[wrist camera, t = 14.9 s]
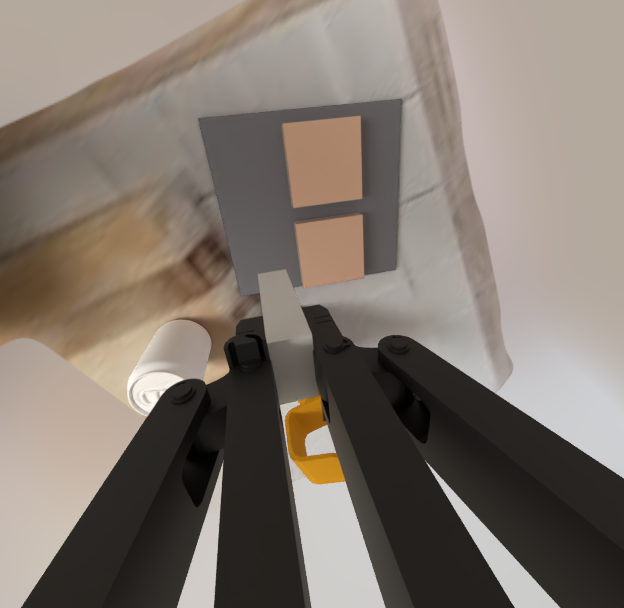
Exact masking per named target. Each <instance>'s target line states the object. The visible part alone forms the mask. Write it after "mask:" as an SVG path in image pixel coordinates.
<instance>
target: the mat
mask: <svg viewBox="0 0 624 608" xmlns="http://www.w3.org/2000/svg"><path fill="white" fill-rule="evenodd" d="M352 116H361V158H362V199H356V200H349V201H342V202H335V203H327V204H320V205H313V206H305V207H298V208H293V207H292V205H291V198H290V190H289V182H288V175H287V167H286V159H285V152H284V144H283V137H282V129H281V125H282V124H283V123H293V122H303V121H313V120H323V119H333V118H342V117H352ZM198 120H199V124H200V129H201V133H202V137H203V141H204V145H205V149H206V153H207V157H208V162H209V166H210V170H211V174H212V178H213V182H214V186H215V191H216V195H217V199H218V203H219V207H220V211H221V215H222V219H223V224H224V228H225V232H226V236H227V240H228V244H229V248H230V252H231V257H232V261H233V265H234V269H235V273H236V277H237V281H238V285H239V290H240V294H241V296H245V295H251V294H257V293H260V288H259V281H258V274H261V273H267V272H273V271H279V270H285V269H286V271H287V273H288V276H289V278H290V281H291V283H292V286H293V287H298V286H303V285H302V282H301V274H300V266H299V259H298V251H297V243H296V236H295V228H294V221H301V220H308V219H315V218H322V217H330V216H337V215H344V214H351V213H360V214H362V215H363V249H364V275H368V274H374V273H380V272H386V271H392V270H396V244H397V213H398V182H399V152H400V121H401V99H396V100H386V101H375V102H365V103H354V104H344V105H333V106H323V107H312V108H302V109H291V110H281V111H271V112H260V113H250V114H239V115H229V116H218V117H208V118H198Z"/></svg>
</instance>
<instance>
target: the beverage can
mask: <svg viewBox="0 0 624 608" xmlns="http://www.w3.org/2000/svg"><path fill="white" fill-rule="evenodd" d="M210 350H211V338H210V336H209V334H208V332H207V331H206V330H205V329H204V328H203V327H202V326H201V325H199V324H197V323H195V322H192V321H189V320H173V321H170V322H167V323H165V324H164V325H162V326H161V327H160V328H159V329H158V330H157V332H156V333H155V335H154V337H153V338H152V340H151V342H150V343H149V345H148V347H147V348H146V350H145V352H144V354H143V355H142V357H141V359H140V360H139V362H138V364H137V365H136V367H135V369H134V371H133V372H132V374H131V376H130V378H129V380H128V400H129V402H130V404H131V406H132V407H133V408H134V409H135V410H136V411H138V412H139V413H141V414H143V415H145V416H148V415H149V413H150V412H151V410H152V409H153V407H154V406H155V404H156V403H157V401H158V400H159V398H160V397H161V395H162V394H163V393H164V392H165V391H166V390H167V389H168V388H169V387H171V386H172V385H174V384H175V383H178V382H180V381H182V380H186V379H192V378H194V379H200V380H202V381H203V379H204V375H205V371H206V367H207V362H208V358H209V354H210Z"/></svg>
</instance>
